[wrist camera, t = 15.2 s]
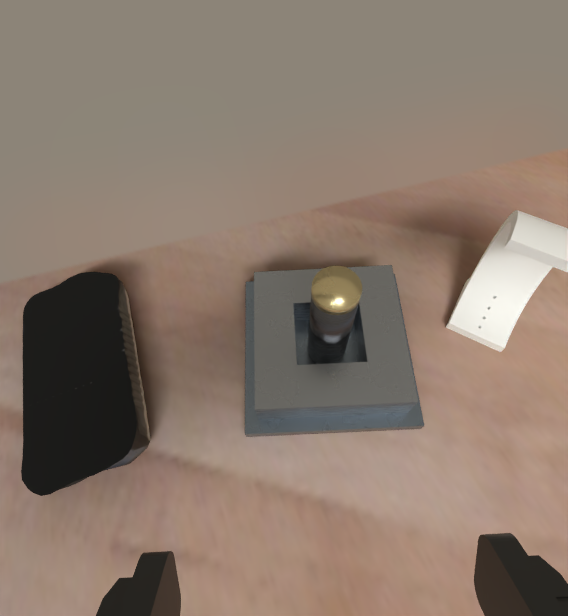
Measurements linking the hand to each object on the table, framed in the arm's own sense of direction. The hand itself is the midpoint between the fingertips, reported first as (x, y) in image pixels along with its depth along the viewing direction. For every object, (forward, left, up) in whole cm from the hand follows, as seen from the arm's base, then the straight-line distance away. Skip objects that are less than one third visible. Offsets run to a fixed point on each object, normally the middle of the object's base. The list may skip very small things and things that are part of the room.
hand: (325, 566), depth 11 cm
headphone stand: (+16, +17, -19) cm, 30 cm away
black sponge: (-17, +12, -20) cm, 28 cm away
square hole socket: (+2, +14, -19) cm, 23 cm away
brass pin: (+2, +13, -18) cm, 22 cm away
